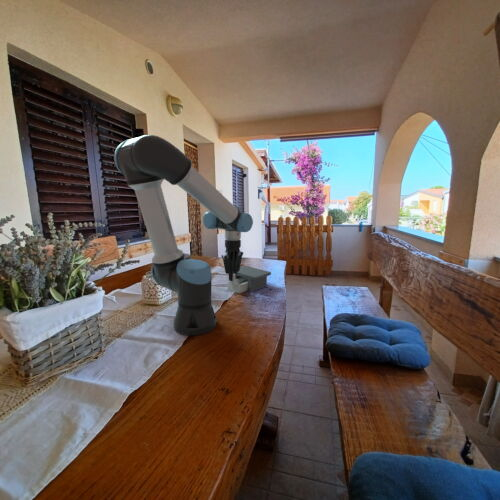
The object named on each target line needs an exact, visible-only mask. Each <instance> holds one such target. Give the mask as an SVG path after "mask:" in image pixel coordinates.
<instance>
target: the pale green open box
mask: <svg viewBox="0 0 500 500" xmlns="http://www.w3.org/2000/svg"><path fill="white" fill-rule="evenodd" d="M227 291H230V292H233V293H235V294H239V295H241V294H243V293H244V292H247V291H248V292H249V279H248V278H245V277H241V278H238V279H236V280H235V287H230V286H229V280H228V281H227Z"/></svg>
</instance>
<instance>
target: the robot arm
mask: <svg viewBox="0 0 500 500" xmlns="http://www.w3.org/2000/svg"><path fill="white" fill-rule="evenodd" d="M113 156H114V157H113V160H114V165H115V167H116V169H117V170H118V171H119V173H120V174H121V175H123V176H124V178H125V181H126V184H127V186H128V187H129V188H131V189H132V190H134V194H135V195H136V200H137V202H138V206H139V208H140V212H141V214H142V215H141V216H142V219H143V222H144V225H145V228H146V232H147V235H148V237H149V241H150V245H151V248H152V251H153V254H154V255H153V257H151V262H152V266H151V269H150V274H151V277H152V279H153V281H154V282H155V283H156V284H157V285H159V286H161V287H163V288H165V289H168V290H170V291H172V292H175V293H177V301H178V302H177V305H178V306H177V309H176V312H175V316H174V319H173V328H175V329H174V331H176V332H177V331H178V332H180V333H183V334H182V335H184V334H187V335H186V336H200V335H204V334H207V333H209V332H211V331H212V330H214V329H215V328H216V327H217V326H216V325H217V316H216V313H215V311H214V307H213V304H212V283H213V282H212V278H213V277H212V276H213V275H212V268H211V266H210V264H209V263H208V262H206V261H204V260H201V259H195V258H190V259H186V260H185V257H184V254H183V253H184V252H183V250H182V249H180V248H178V244H177V241H176V237H175V233H174V229H173V225H172V222H171V218H170V215H169V210H168V207H167V206H168V205H167V204H166V203H167V202H166V200H165V196H164V193H163V189H162V184H163V182H164V180H165V181H167V183H169V184H171V185H172V186H178V187H180V188H181V189H182V190H183V191H185V193H186V194H188V195H190V196H191V197H192V198H193V199H194V200H196V202H198V203H199V204H200V205H201V206H203V207H204V208H206V210H207V211H206V212H204V214H203V216H202V221H203V222H202V223H203V226H204V227H205V228H206V229H208V230H215V229H217V230H224V239H225V240H224V247H225V252H224V254H222V255H221V258H222V259H221V260H222V261H223V267H224V272H225V274H227V275H228V281H229V286H230V287H235V280H236V274H238V272H239V270H240V267H241V263H242V258H243V255H244V252H243V251H241V249H240V248H241V247H242V240H241V237H242V236H241V235H242V233H248V232H249V231H251V230H252V227H253V225H254V220H253V216H252V215H251V214H250V213H246V212H242V208H241V206H238V205H236V206H235V205H234V204H233V203H232V202H231V201H229V199H227V198H226V197H225V196H224V195H223V194H222V193H221V191H219V190H218V189H217V188H216V187H215V186H214V185H213V184H212V183H210V181H208V180H207V179H206V178H205V177H204V176H203V175H202V174H201V173H200V172H199V171H198V170H196V168H194V166H193V162H192V160H191V159H190V158H189V157H188V156H187V155H186V154H184V153H183V152H182V151H181V150H180V149H179V148H177V146H175V145H174V144H172V143H171V142H170V141H168V140H166V139H165V138H163V137H161V136H158V135H155V134H144V135H141V136H138V137H134V138H129V139H126V140H124V141H123V142H121V143H120V144H119V145H117V147H116V149H115V151H114V153H113ZM181 250H182V251H181ZM178 332H177V333H178ZM180 333H179V334H180Z"/></svg>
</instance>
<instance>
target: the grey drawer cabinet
mask: <svg viewBox="0 0 500 500" xmlns="http://www.w3.org/2000/svg"><path fill="white" fill-rule="evenodd" d="M271 275H272V271H267V270H263V269H260V268H256V267H252V266H249V265H242V266H240V270H239V272H238V274H236V279H238V278H241V277H245V278H248V279H249V290H248V292H250V293H252V292H254V291H257V290H259V289H262V288H264V287H266V286H267V283H268V281H267V280H268V277H269V276H271Z"/></svg>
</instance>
